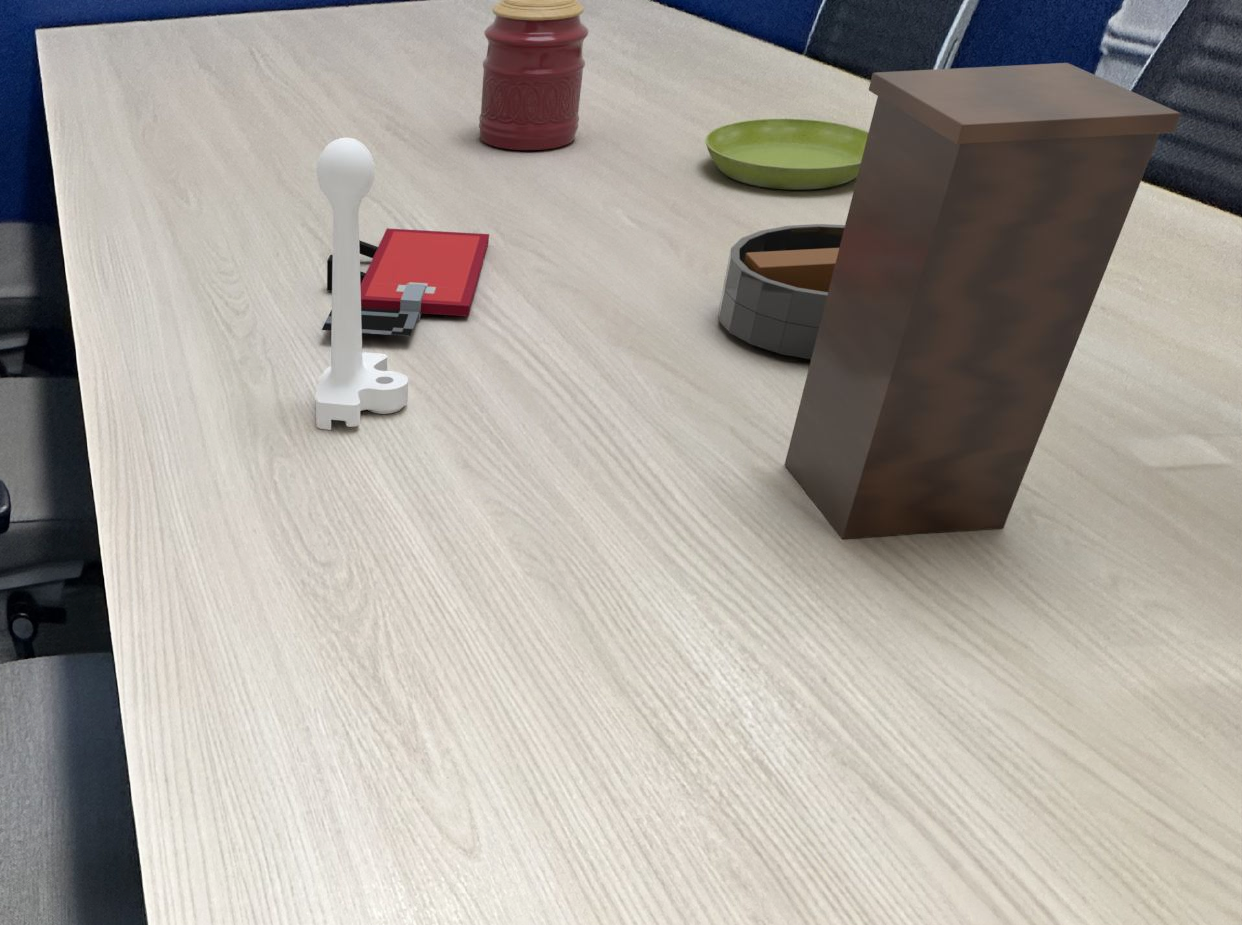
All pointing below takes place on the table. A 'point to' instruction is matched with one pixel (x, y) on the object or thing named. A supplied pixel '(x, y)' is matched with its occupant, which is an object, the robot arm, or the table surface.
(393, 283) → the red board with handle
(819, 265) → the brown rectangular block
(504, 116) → the kitchen canister
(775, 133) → the saucer
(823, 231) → the bowl
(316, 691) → the table surface
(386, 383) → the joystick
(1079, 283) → the stand
